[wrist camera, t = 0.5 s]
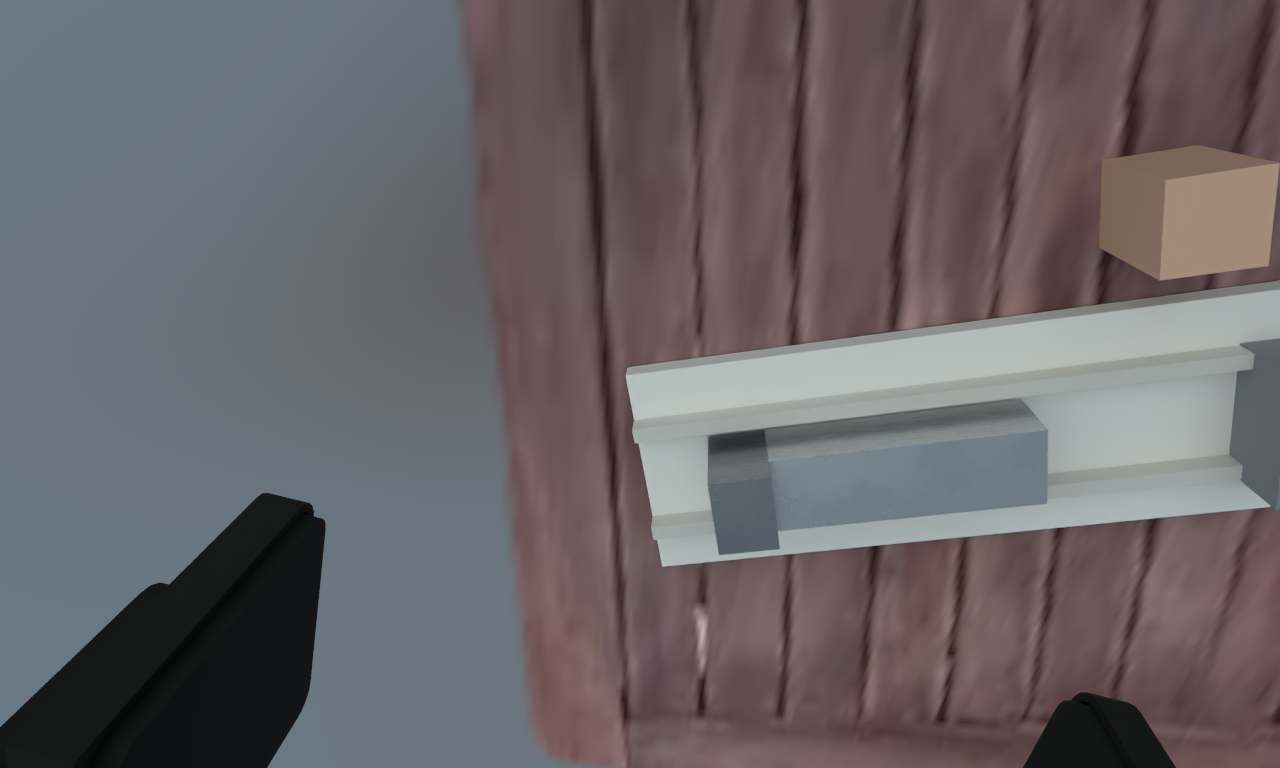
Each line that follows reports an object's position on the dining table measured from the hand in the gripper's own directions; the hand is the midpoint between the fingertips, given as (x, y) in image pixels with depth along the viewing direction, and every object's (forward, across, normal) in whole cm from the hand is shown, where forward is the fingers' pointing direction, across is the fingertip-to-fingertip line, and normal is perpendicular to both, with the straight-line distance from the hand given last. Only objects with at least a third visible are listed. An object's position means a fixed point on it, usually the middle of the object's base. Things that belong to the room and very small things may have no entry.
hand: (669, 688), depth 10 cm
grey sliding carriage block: (+32, -12, +10) cm, 36 cm away
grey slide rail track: (+34, -16, +8) cm, 38 cm away
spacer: (+34, -20, -6) cm, 40 cm away
